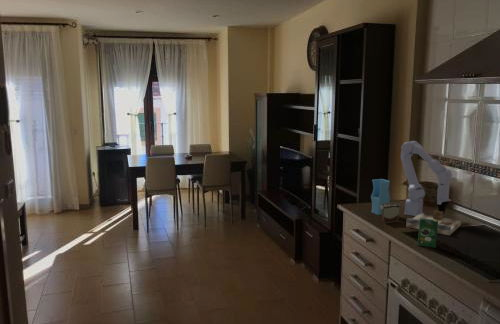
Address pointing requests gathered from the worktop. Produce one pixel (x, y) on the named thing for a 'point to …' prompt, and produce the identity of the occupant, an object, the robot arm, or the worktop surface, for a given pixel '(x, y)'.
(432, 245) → the coffee box
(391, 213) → the food container
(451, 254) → the worktop surface
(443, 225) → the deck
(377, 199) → the vase
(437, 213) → the block
